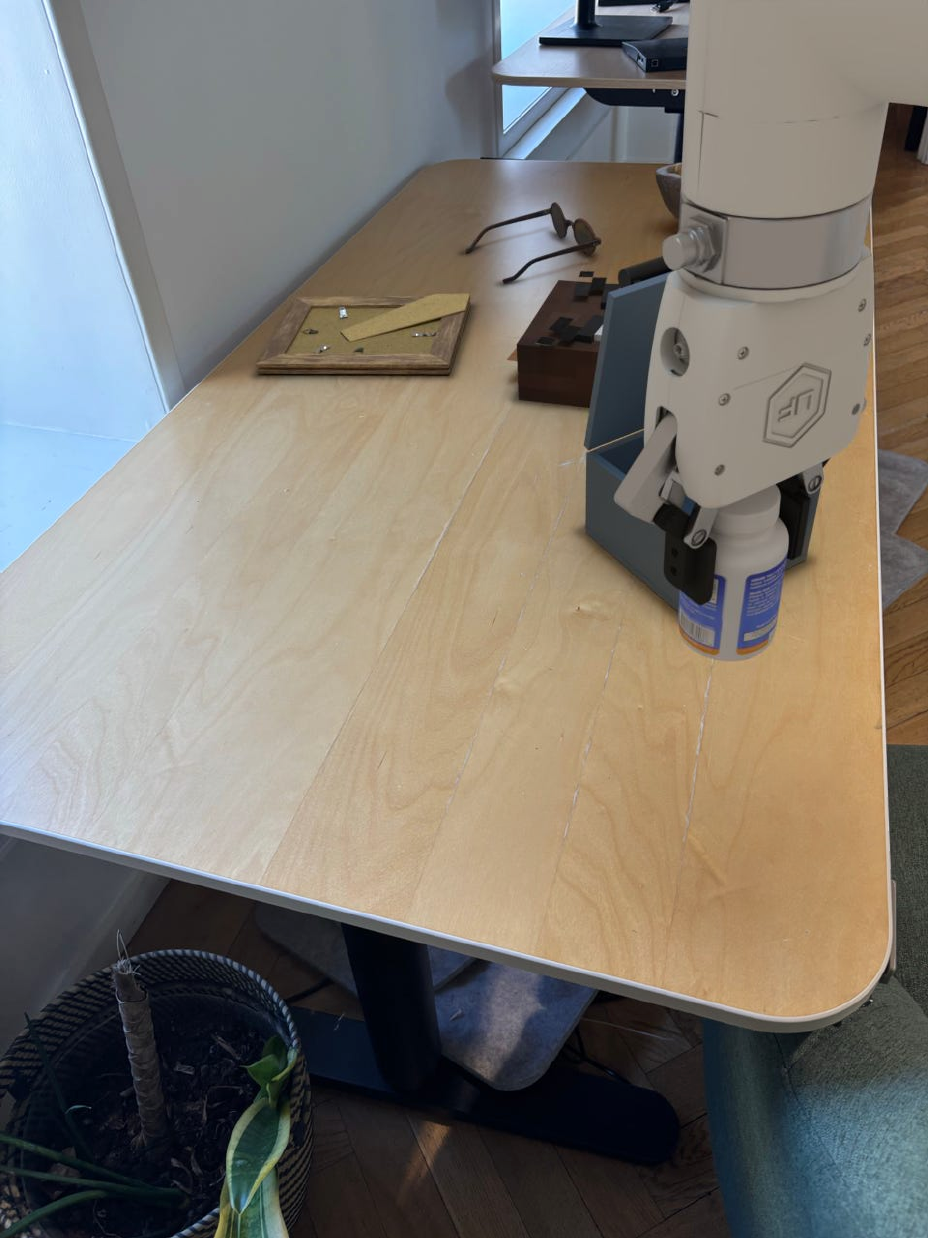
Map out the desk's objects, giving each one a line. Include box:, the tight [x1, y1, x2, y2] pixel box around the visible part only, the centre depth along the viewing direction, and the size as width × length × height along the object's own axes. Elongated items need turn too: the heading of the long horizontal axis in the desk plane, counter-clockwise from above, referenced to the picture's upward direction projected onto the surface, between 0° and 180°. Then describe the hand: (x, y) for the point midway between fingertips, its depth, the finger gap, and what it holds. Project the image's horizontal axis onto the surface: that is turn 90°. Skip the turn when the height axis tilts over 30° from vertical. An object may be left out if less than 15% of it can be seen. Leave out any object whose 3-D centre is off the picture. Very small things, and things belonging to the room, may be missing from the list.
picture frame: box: [256, 293, 472, 375], centre depth 125 cm, size 19×2×24 cm
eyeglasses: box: [465, 201, 602, 284], centre depth 140 cm, size 15×15×5 cm
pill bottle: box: [677, 484, 789, 662], centre depth 53 cm, size 5×5×10 cm
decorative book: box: [506, 270, 621, 408], centre depth 112 cm, size 19×8×30 cm
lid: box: [583, 255, 675, 451], centre depth 84 cm, size 15×14×5 cm
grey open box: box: [584, 429, 822, 613], centre depth 87 cm, size 15×14×9 cm
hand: (732, 565), depth 53 cm, fingers closed on pill bottle, 5 cm apart
